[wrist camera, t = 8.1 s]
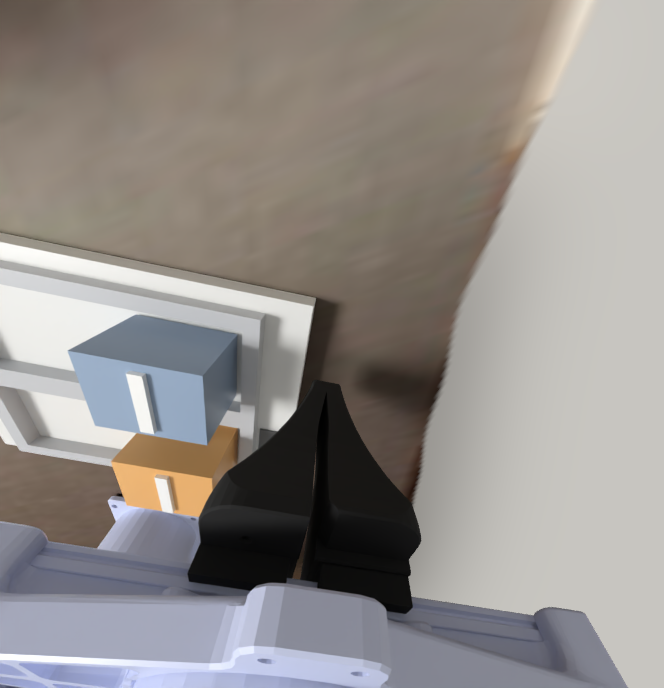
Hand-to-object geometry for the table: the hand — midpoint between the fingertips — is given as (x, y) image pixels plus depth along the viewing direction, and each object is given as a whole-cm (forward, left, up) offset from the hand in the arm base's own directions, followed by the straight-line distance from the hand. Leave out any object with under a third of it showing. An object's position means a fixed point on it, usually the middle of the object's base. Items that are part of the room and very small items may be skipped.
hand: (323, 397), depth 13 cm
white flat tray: (-3, +11, -2) cm, 12 cm away
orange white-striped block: (-6, +7, -1) cm, 10 cm away
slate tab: (0, +7, -1) cm, 7 cm away
